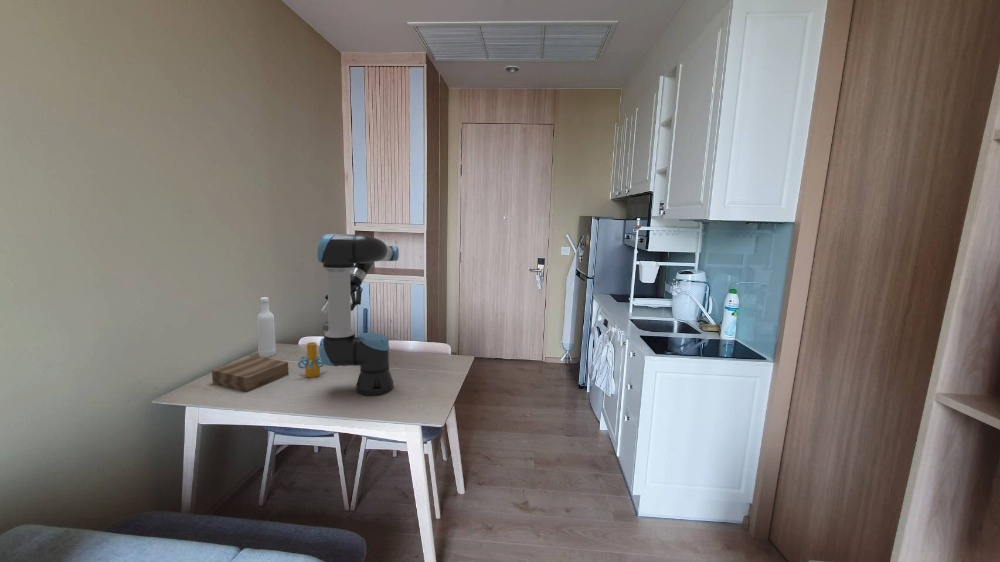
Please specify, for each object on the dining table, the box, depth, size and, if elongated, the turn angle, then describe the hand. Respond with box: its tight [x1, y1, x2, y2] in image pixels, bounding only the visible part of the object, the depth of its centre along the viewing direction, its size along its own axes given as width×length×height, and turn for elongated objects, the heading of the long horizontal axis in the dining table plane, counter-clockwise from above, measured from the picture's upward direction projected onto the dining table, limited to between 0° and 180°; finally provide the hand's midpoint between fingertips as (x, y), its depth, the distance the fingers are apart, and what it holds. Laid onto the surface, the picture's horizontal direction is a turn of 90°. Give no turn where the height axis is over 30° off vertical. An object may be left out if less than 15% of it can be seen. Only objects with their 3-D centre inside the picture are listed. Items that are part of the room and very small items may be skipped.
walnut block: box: [211, 355, 290, 393], centre depth 171 cm, size 20×20×6 cm
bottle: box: [256, 296, 277, 358], centre depth 200 cm, size 8×8×30 cm
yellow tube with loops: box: [297, 341, 325, 378], centre depth 177 cm, size 12×10×15 cm
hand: (334, 313), depth 188 cm, fingers open, 13 cm apart
